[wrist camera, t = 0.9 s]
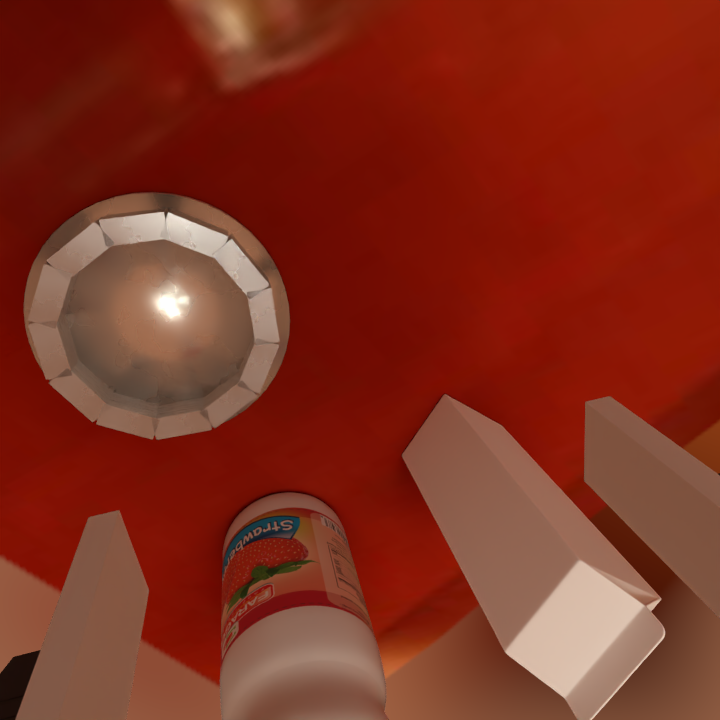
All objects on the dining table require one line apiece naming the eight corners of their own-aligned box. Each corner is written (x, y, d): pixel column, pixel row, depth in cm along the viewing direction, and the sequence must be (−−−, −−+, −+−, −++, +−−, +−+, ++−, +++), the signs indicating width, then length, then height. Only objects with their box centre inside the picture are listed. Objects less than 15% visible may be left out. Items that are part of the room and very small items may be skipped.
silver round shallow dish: (-10, 209, 34) (-30, 215, 31) (268, 176, 36) (271, 180, 34) (69, 450, 40) (58, 471, 37) (303, 408, 42) (308, 425, 40)
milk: (400, 454, 45) (531, 713, 25) (444, 391, 44) (619, 609, 24) (460, 484, 48) (625, 744, 27) (504, 424, 46) (711, 651, 26)
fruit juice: (302, 603, 49) (382, 1128, 23) (199, 563, 45) (159, 1127, 20) (366, 517, 47) (530, 981, 21) (264, 468, 43) (313, 953, 18)
